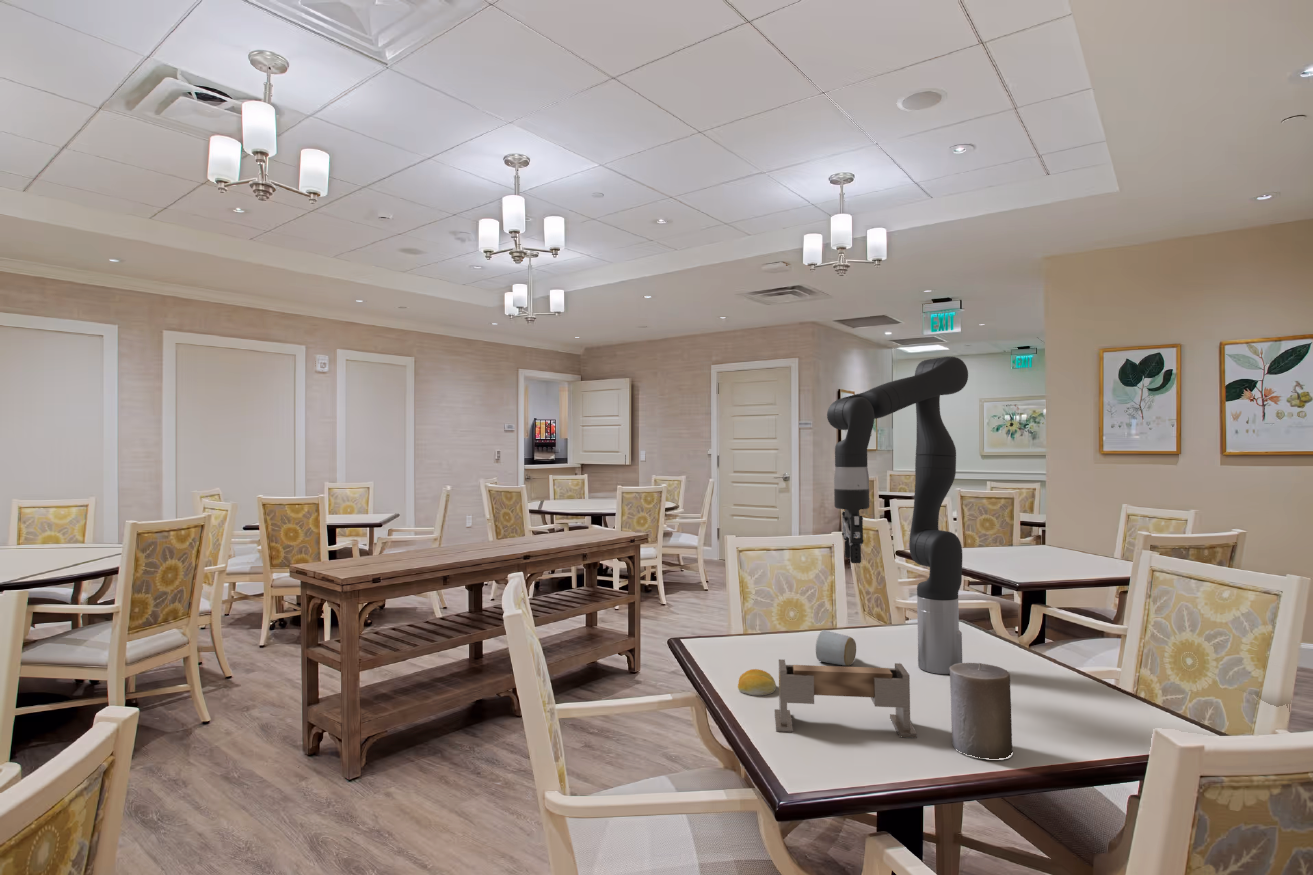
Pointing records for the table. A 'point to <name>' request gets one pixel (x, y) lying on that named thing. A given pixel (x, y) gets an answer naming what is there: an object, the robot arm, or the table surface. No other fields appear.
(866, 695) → the rail
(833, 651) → the ceramic mug
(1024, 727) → the table surface
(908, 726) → the brackets
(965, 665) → the pillar candle
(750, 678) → the bread roll
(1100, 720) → the table surface
